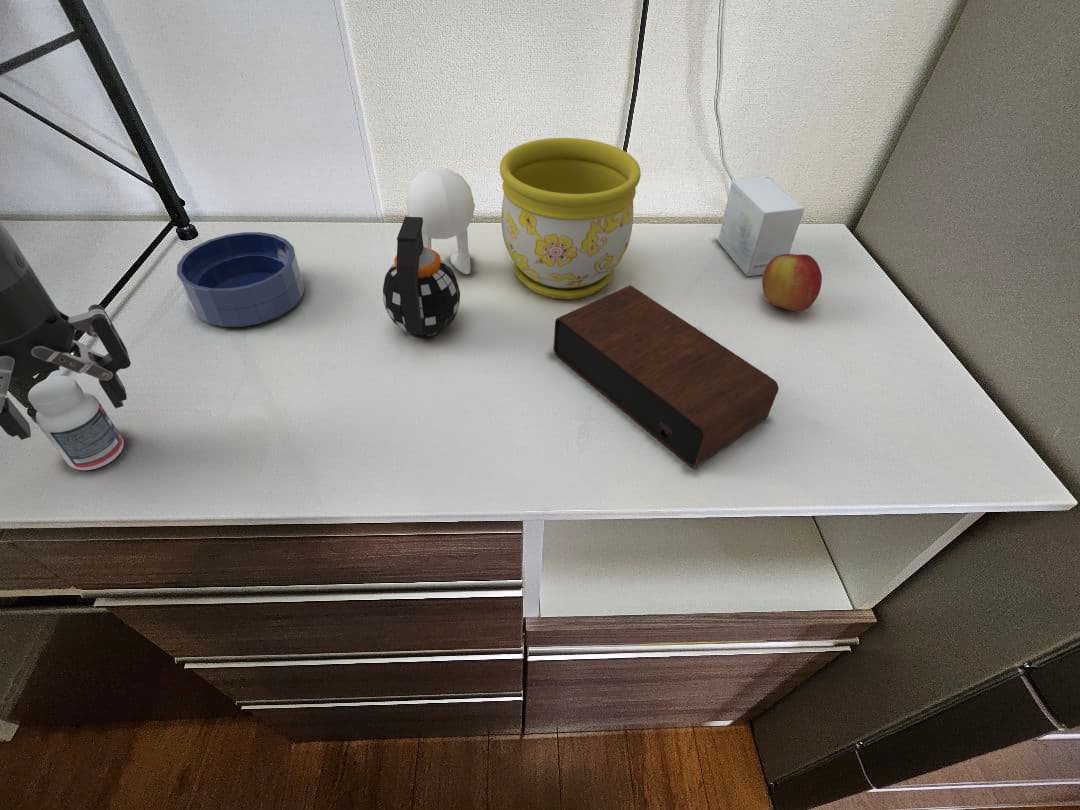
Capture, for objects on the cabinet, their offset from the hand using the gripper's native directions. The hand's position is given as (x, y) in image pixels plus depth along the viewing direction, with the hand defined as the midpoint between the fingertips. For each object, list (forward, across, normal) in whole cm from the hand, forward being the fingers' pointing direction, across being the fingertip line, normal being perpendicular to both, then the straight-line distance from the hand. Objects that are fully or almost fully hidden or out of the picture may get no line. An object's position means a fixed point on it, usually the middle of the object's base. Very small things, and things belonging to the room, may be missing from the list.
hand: (73, 417), depth 61 cm
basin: (+5, -21, -20) cm, 29 cm away
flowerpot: (+5, -61, -3) cm, 61 cm away
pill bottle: (+5, 0, 0) cm, 5 cm away
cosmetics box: (+6, -88, +7) cm, 89 cm away
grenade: (+5, -38, -1) cm, 38 cm away
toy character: (+5, -46, -12) cm, 48 cm away
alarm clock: (+5, -56, +22) cm, 61 cm away
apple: (+5, -82, +19) cm, 85 cm away
